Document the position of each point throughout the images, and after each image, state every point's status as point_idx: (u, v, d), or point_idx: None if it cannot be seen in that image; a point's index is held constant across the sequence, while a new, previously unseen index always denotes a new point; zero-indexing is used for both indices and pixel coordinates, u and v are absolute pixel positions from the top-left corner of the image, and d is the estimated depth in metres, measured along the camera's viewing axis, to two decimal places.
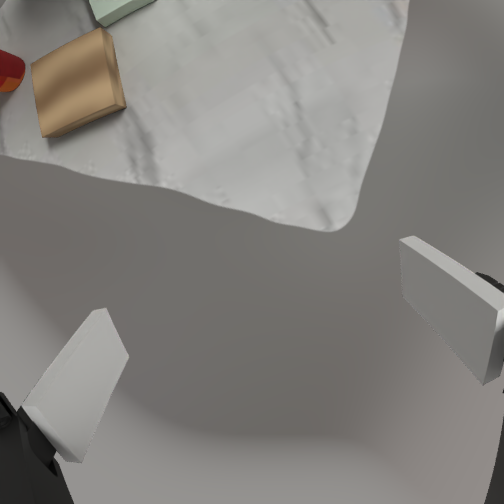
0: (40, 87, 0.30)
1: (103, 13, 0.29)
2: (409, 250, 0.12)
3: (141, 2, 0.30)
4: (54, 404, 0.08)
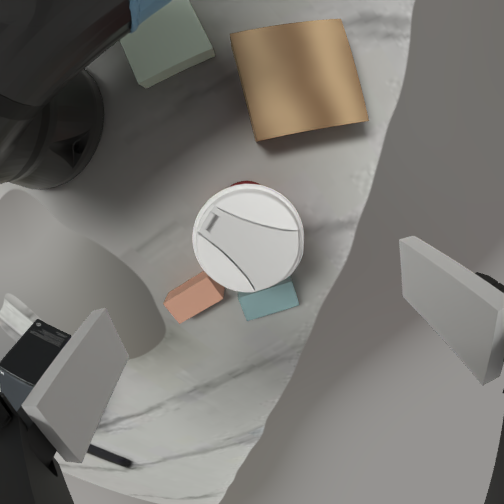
0: (299, 119, 0.28)
1: (203, 40, 0.26)
2: (409, 250, 0.12)
3: None
4: (54, 404, 0.08)
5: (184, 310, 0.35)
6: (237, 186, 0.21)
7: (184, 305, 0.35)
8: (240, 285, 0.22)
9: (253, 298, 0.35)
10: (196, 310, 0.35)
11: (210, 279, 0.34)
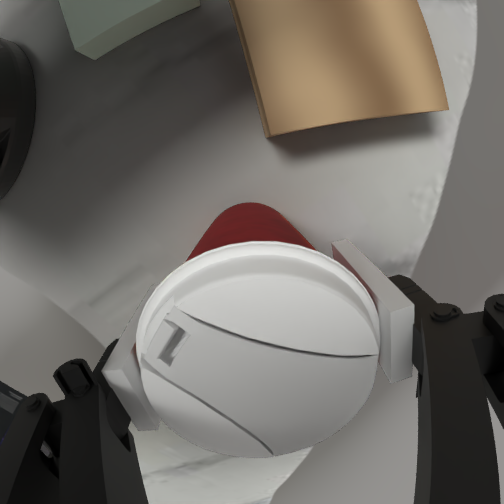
0: (344, 99, 0.15)
1: None
2: (337, 252, 0.13)
3: None
4: (135, 368, 0.09)
5: None
6: (234, 249, 0.08)
7: None
8: (244, 450, 0.09)
9: None
10: None
11: None
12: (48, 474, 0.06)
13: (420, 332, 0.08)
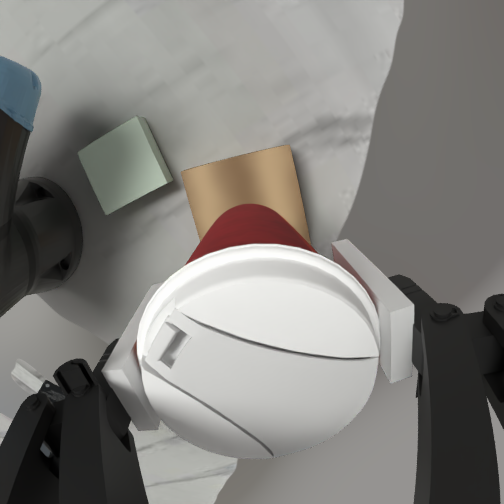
0: None
1: (158, 175, 0.32)
2: (337, 253, 0.13)
3: (148, 133, 0.32)
4: (135, 368, 0.09)
5: None
6: (234, 251, 0.08)
7: None
8: (244, 451, 0.09)
9: None
10: None
11: None
12: (48, 474, 0.06)
13: (420, 332, 0.08)
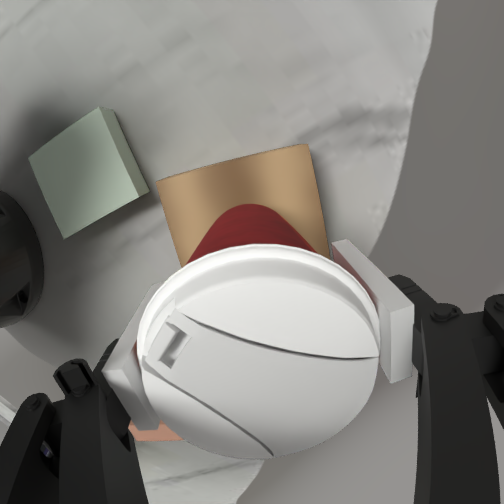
0: None
1: (127, 186, 0.23)
2: (337, 253, 0.13)
3: (116, 130, 0.23)
4: (135, 368, 0.09)
5: (145, 435, 0.32)
6: (234, 251, 0.08)
7: (146, 432, 0.32)
8: (244, 451, 0.09)
9: None
10: (155, 439, 0.32)
11: None
12: (48, 474, 0.06)
13: (420, 332, 0.08)
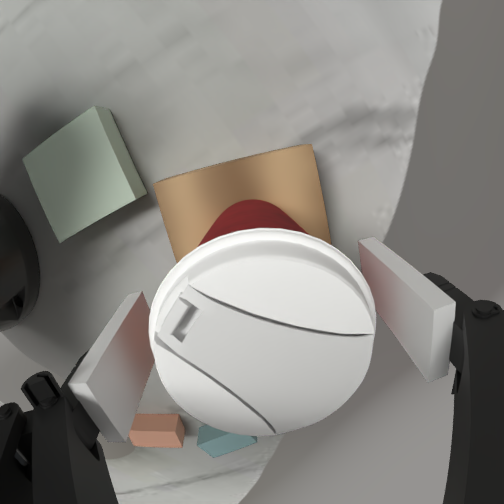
0: None
1: (124, 188, 0.22)
2: (365, 251, 0.13)
3: (113, 130, 0.22)
4: (101, 382, 0.09)
5: (143, 441, 0.31)
6: (243, 234, 0.09)
7: (144, 438, 0.31)
8: (248, 427, 0.10)
9: (210, 443, 0.31)
10: (154, 445, 0.31)
11: (176, 431, 0.31)
12: (24, 479, 0.05)
13: (461, 328, 0.07)
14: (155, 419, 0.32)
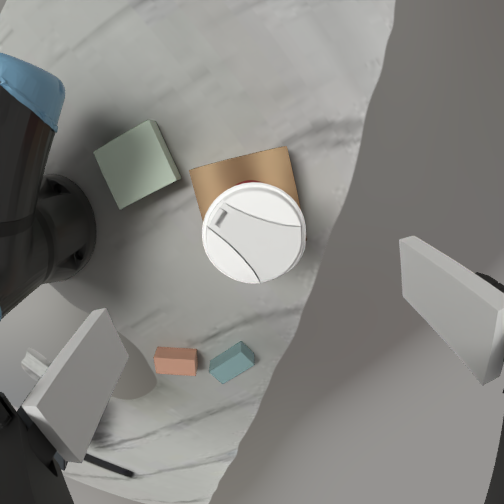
0: None
1: (168, 173, 0.36)
2: (409, 250, 0.12)
3: (159, 135, 0.36)
4: (54, 404, 0.08)
5: (165, 368, 0.44)
6: (245, 184, 0.23)
7: (167, 366, 0.44)
8: (246, 277, 0.24)
9: (219, 369, 0.44)
10: (173, 372, 0.44)
11: (194, 361, 0.44)
12: None
13: None
14: (178, 351, 0.46)
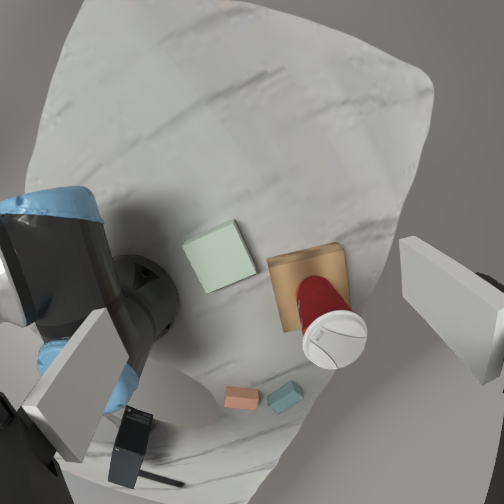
0: None
1: (250, 267, 0.47)
2: (409, 250, 0.12)
3: (239, 233, 0.47)
4: (54, 404, 0.08)
5: (233, 404, 0.55)
6: (334, 312, 0.34)
7: (235, 402, 0.55)
8: (330, 366, 0.35)
9: (276, 403, 0.55)
10: (238, 407, 0.56)
11: (258, 399, 0.55)
12: None
13: None
14: (244, 391, 0.57)
